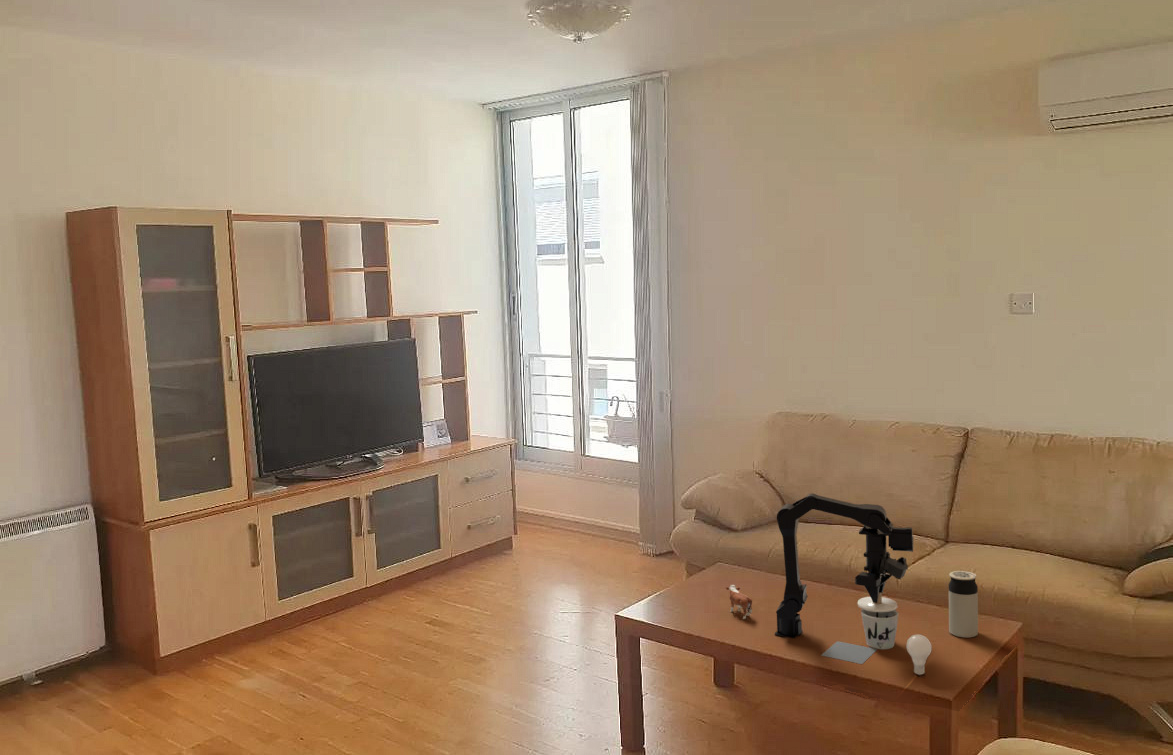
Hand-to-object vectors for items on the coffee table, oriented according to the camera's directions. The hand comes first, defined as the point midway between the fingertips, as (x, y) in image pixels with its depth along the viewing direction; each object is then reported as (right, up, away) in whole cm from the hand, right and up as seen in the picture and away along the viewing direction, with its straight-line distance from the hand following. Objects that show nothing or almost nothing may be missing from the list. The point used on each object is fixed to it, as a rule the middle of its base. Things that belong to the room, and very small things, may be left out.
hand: (877, 601), depth 269 cm
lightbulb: (+5, -15, -22) cm, 27 cm away
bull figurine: (-35, -12, +30) cm, 48 cm away
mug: (+1, -13, +1) cm, 13 cm away
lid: (0, -1, 0) cm, 1 cm away
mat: (-10, -14, -6) cm, 18 cm away
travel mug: (+27, -11, +5) cm, 30 cm away
